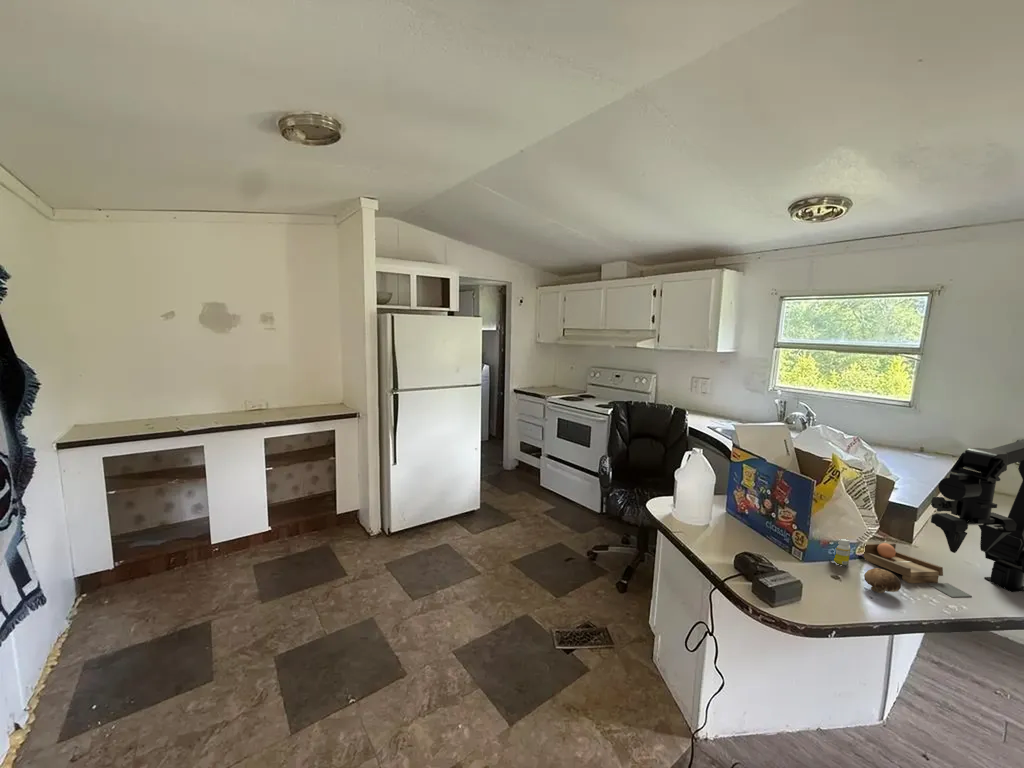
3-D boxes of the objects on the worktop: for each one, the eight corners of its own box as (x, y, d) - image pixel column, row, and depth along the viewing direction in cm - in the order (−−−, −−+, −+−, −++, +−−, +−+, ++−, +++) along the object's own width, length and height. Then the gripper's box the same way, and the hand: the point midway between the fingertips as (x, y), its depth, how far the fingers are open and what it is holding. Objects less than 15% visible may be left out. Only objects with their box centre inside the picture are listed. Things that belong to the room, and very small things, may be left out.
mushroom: (854, 584, 121) (857, 563, 120) (883, 585, 120) (886, 564, 120) (877, 601, 113) (880, 579, 112) (908, 603, 112) (912, 580, 112)
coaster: (947, 584, 122) (947, 582, 121) (971, 597, 116) (971, 595, 116) (928, 584, 121) (928, 583, 121) (951, 598, 115) (951, 596, 115)
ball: (887, 540, 135) (900, 547, 131) (884, 553, 136) (898, 561, 131) (874, 540, 134) (887, 548, 130) (872, 553, 135) (885, 561, 131)
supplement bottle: (829, 557, 135) (832, 532, 134) (848, 563, 132) (851, 537, 131) (828, 564, 131) (831, 538, 130) (848, 569, 128) (851, 543, 127)
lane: (889, 555, 137) (891, 541, 137) (941, 584, 122) (944, 568, 121) (858, 556, 136) (860, 542, 136) (906, 585, 121) (908, 569, 120)
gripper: (973, 485, 123) (965, 536, 125) (914, 486, 121) (907, 538, 123) (1022, 500, 112) (1012, 556, 114) (958, 501, 110) (949, 558, 112)
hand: (968, 551), depth 116 cm, fingers open, 9 cm apart
